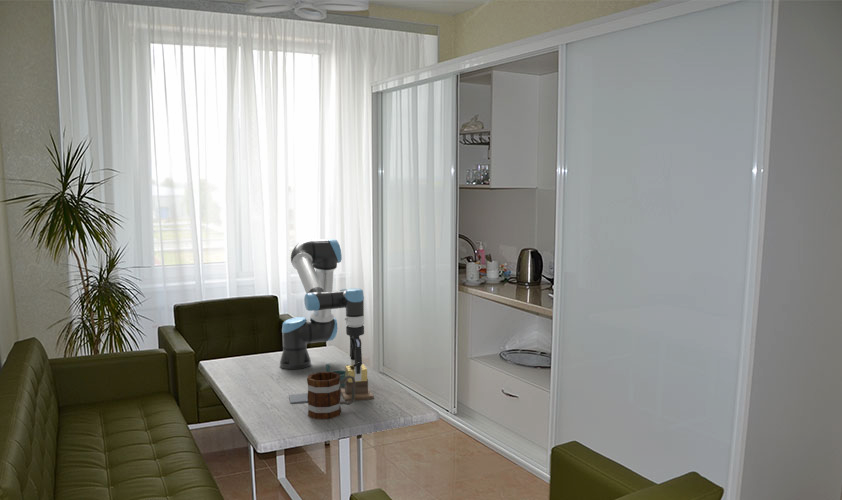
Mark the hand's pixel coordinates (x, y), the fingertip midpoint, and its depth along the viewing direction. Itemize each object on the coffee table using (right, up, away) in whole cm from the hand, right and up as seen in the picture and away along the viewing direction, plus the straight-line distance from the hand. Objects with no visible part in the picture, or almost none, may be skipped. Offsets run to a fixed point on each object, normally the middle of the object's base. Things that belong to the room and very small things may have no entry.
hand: (356, 377), depth 281 cm
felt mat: (-23, -8, -4) cm, 24 cm away
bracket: (-10, -6, +17) cm, 20 cm away
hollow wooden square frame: (0, -1, 0) cm, 1 cm away
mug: (-8, -10, -20) cm, 24 cm away
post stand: (0, -7, +1) cm, 8 cm away
